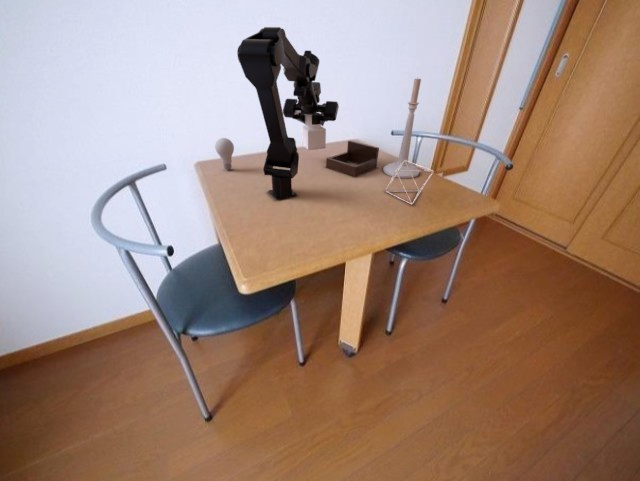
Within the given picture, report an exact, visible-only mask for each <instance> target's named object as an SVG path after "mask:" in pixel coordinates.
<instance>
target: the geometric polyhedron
mask: <svg viewBox="0 0 640 481" xmlns="http://www.w3.org/2000/svg"><path fill="white" fill-rule="evenodd" d="M404 161H405V163H406V160H404ZM404 161H403V162H402V164H401V165H400V166H399V167H400V168H401V166H402V165H403V163H404ZM407 162H408V164H411V165H414V166H418V167H420V168H423V169H426V170H427V171H428V172H429V173H430V172H431V173H430V175H429V176H428V178H427V179H426V180H425V181H424V183H423V184H422V186H421V187H420V188H419V186H418V185H417V182H416V180H415V177H413V176H412V174H411V172H410V174H411V176H412V178H411V179H412V180H413V182H414V184H415V187H416V188H417V190H406V187H405V186H404V183H403V181H402V178H400V177H399V175H398V171H399V170H400V168H399V167H398V168H397V170H398V169H399V170H398V171H397V170H396V171H395V173H396V174H397V175H398V177H399V178H398V177H397V178H398V179H399V182H400V183H401V186H402V187H403V190H388V189H389V188H390V186H391V184H392V183H393V181H394V180H395V178H396V177H395V176H396V174H395V173H394V175H395V176H394V175H393V176H391V179H390V181H389V183H388V185H387V187H386V188H385V192H386V193H388V194H389V195H391V196H394V197H396V198H398V199H399V200H402V201H403V202H406V203H408V204H410V205H414V203H416V200H417V198H418V197H419V195H420V194H421V193H422V191H423V190H424V188H425V186H426V185H427V183H428V181H429V180H430V179H431V177H432V175H433V174H434V173H435V171H434V169H431V168H428V167H425V166H423V165H420V164H417V163H415V162H411V161H409V160H408V161H407ZM406 165H407V163H406ZM407 167H408V165H407ZM408 169H409V167H408ZM409 171H410V169H409ZM393 192H396V193H397V192H400V193H401V192H405V194H406V196H407V198H408V200H409V201H407V200H405V199H403V198H401V197H399V196H397V195H395V194H393ZM408 192H409V193H411V192H416V195H415V197H414V199H413V201H412V200H411V198H410V196H409V194H408Z"/></svg>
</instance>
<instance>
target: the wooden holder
mask: <svg viewBox="0 0 640 481" xmlns="http://www.w3.org/2000/svg"><path fill="white" fill-rule="evenodd" d="M346 150H347V151H343V152H341V153H338V154H335V155H332V156H329V157H326V160H325V168H327V169H330V170H332V171H336V172H339V173H342V174H345V175H348V176H350V177H352V178H353V177H354V178H356V177H358V176H360V175H363V174H365V173H368V172H370V171H373V170H375V169H377V168H378V167H377V166H378V160H379V151H380V147H377V146H374V145H369V144H366V143H362V142H357V141H354V140H347V148H346ZM347 162H351V163H354V164H351V163H347ZM355 164H356V165H355Z"/></svg>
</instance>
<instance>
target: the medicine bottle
mask: <svg viewBox="0 0 640 481" xmlns="http://www.w3.org/2000/svg"><path fill="white" fill-rule="evenodd" d="M320 117H321V112H317V113H316V114H315V115H307V114H305V124H304V125H301V146H302V147H303V148H305V149H306V150H307V151H313V150H322V149H323V150H324V149H326V148H327V147H326V146H327V144H326V141H327V131H326V130H327V129H326V128H325V127H324V126H322V125H321V122H320Z"/></svg>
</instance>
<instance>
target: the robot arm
mask: <svg viewBox="0 0 640 481" xmlns="http://www.w3.org/2000/svg"><path fill="white" fill-rule="evenodd" d="M236 52H237V53H236V54H237V60H238V63H240V66H241V69H242V72H243V74H244V77H245V78H246V79H247V81H249V83H251V85H252V86H253V87H254V88H255V90H256V94H257V98H258V101H259V105H260V109H261V114H262V116H263V120H264V124H265V127H266V128H265V129H266V132H267V135H268V139H269V145H268V146H267V149H266V157H265V161H264V164H263V168H262V170H263V174H264V176H271V187H272V189H269V190H268V193H269V194H270V195H271V196H272V197H273V198H274V199H275V200H277V201H278V200H282V199H287V198H292V197H295V196H297V193H296V192H295V191H294V190H293V184H292V181H293V180H292V179H294V178H295V176H296V175H298V172H299V163H300V162H299V161H300V153H299V152H298V148H297V142H296V139H295V137H289V136H288V132H287V127H286V123H285V118H289V119H292V120H295V121H298V122H300V123H302V124H304V125H305V114H307V115H315V114H316V113H320V114H321V117H320V122H321V126H322V127H324V126H325V123H327V122H335V121H336V120H337V116H338V111H339V102H338V101H335V100H334V101H333V100H327V101H325V103H322V104H320V101H321V99H320V95H321V93H322V89H321V88H322V87H321V82H318V81H316V79H317V74H318V70H319V66H320V58H319V57H318V56H317V55H316V54H314V53H312V50H304V52H303V54H302V55H301V54H299V52H298V51H297V50H296V49H295V47H294V46H293V44H292V43H291V42H290V40H289V38H288V37H287V35H286V31H285V29H284V28H281V27H280V26H265V27H262V28H261V29H260V30H259V31H258V32H256V33H254V34H252V35H250V36H248V37H246V38H243V40H242V41H241V43H240V44H239V46H238V47H237V51H236ZM282 67H283V75H284V77H285V78H286V80H287V81H288V82H293V94H292V95H293V96H294V97H297V98H285V101H284V104H283V108H282V103H281V97H280V93H279V88H278V82H277V81H278V78H279V75H280V73H281V70H282ZM283 168H284V169H283Z"/></svg>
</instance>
